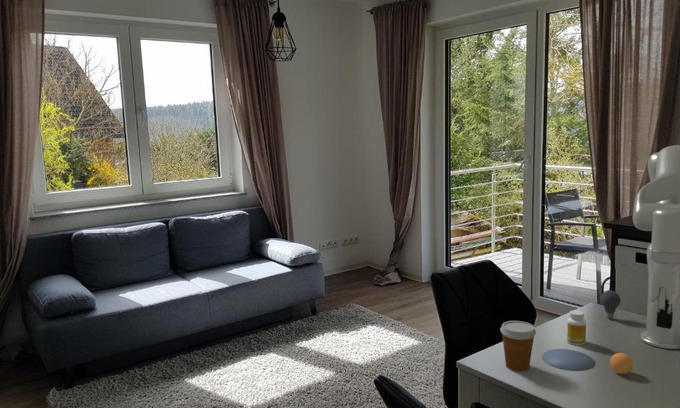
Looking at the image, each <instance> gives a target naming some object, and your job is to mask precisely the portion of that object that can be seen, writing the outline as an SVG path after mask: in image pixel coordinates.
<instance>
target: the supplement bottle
mask: <svg viewBox="0 0 680 408" xmlns="http://www.w3.org/2000/svg"><path fill="white" fill-rule="evenodd" d="M584 316H585V313H584V312H583V311H580V310H570V312H569V317H568V318H567V321H566V342H567V343H568V344H570V345H573V346H583V345H586V339H587V338H586V337H587V336H586V335H587V321H586V319H584Z"/></svg>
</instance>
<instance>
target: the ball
mask: <svg viewBox="0 0 680 408" xmlns="http://www.w3.org/2000/svg"><path fill="white" fill-rule="evenodd" d="M609 364H610V366H611V368H612V370H613V371H614V372H615V373H617V374H620V375H626V374H628V373H630V372H631V371H632V370H633V367H634V362H633V360H632V358H631V357H630V355H628V354H625V353H623V352H617V353H615V354H613V355H612V356H611V357H610V360H609Z"/></svg>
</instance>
